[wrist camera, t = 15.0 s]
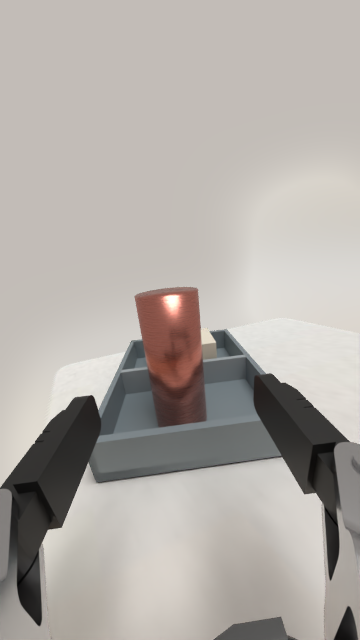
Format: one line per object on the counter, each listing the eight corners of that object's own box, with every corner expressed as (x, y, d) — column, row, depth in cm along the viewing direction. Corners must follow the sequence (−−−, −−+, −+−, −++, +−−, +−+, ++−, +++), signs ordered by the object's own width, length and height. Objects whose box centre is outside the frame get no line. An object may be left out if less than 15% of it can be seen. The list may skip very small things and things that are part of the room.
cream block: (208, 353, 33) (207, 328, 31) (217, 372, 27) (216, 342, 26) (154, 360, 32) (150, 334, 31) (151, 380, 27) (146, 351, 25)
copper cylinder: (201, 395, 23) (193, 285, 19) (212, 434, 18) (203, 293, 13) (158, 400, 23) (139, 291, 18) (155, 442, 17) (128, 301, 13)
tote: (226, 350, 35) (226, 329, 34) (296, 453, 16) (302, 414, 15) (135, 361, 35) (131, 340, 33) (96, 482, 16) (82, 444, 14)
